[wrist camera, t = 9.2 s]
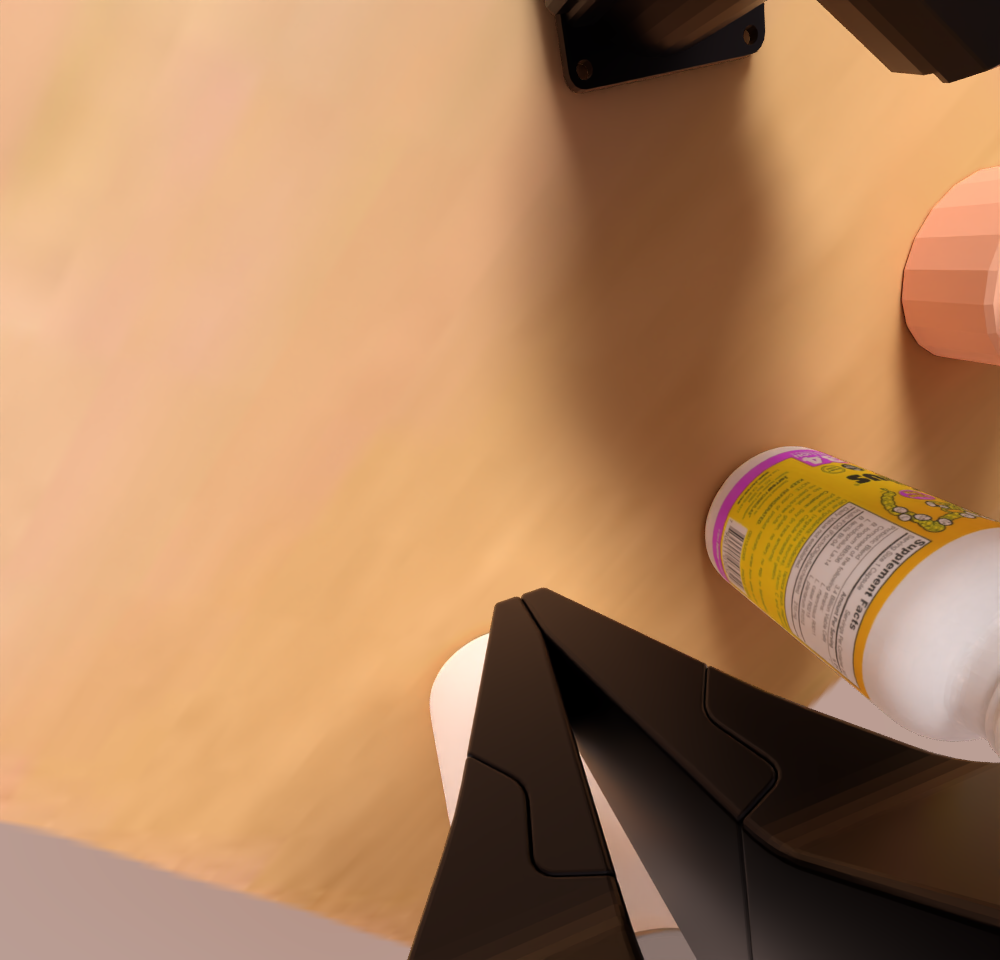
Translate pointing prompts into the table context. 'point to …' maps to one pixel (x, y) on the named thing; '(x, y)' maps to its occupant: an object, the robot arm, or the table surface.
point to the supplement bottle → (871, 584)
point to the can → (644, 904)
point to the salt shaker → (958, 273)
